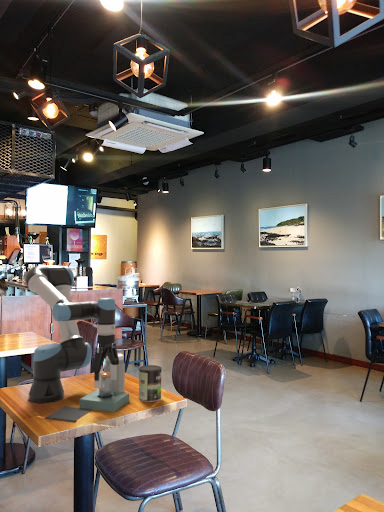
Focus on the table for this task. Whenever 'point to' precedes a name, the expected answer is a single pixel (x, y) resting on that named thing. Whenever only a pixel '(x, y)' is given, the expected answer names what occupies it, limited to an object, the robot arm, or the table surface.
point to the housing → (104, 401)
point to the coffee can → (150, 383)
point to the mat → (68, 414)
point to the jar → (117, 374)
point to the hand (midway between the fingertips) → (105, 383)
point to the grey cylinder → (105, 385)
